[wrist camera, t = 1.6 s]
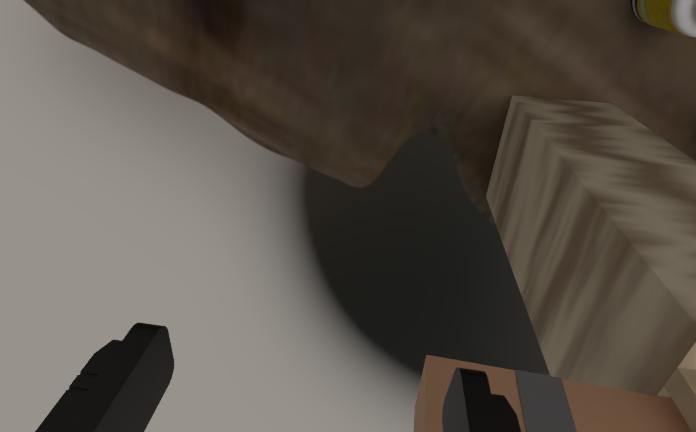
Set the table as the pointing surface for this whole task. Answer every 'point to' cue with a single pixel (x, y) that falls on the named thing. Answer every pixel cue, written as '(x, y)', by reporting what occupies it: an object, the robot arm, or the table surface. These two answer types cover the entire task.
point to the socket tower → (601, 244)
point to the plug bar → (550, 402)
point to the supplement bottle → (668, 15)
